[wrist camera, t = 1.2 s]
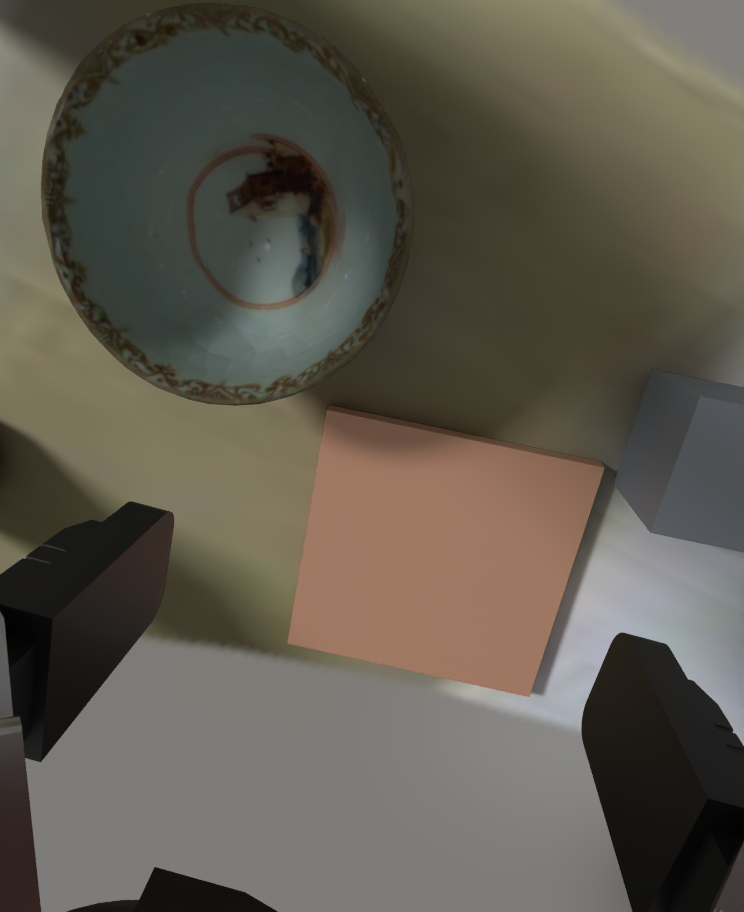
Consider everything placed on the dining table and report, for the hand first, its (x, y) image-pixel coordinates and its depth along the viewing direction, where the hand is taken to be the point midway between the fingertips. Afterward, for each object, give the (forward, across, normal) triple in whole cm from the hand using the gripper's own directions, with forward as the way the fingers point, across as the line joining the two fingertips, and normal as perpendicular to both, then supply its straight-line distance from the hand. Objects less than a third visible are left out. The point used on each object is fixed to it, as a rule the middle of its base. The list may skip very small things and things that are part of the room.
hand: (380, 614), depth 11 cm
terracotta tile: (+22, -3, +9) cm, 24 cm away
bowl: (+22, +8, -6) cm, 24 cm away
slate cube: (+22, -14, -1) cm, 26 cm away
